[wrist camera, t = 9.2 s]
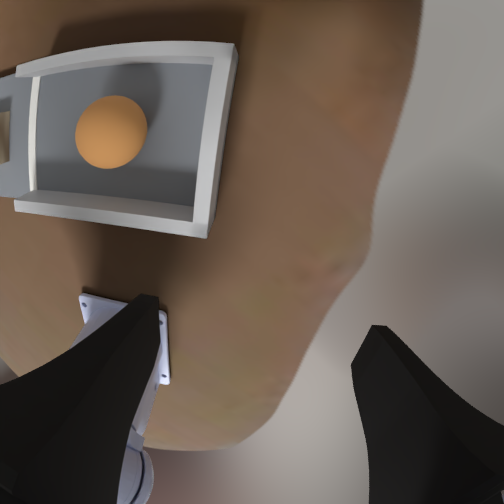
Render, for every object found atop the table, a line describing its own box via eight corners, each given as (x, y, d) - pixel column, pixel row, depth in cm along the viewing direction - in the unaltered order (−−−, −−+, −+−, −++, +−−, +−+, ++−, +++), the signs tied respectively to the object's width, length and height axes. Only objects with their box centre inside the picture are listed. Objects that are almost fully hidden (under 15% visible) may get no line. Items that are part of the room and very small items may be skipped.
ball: (153, 163, 16) (128, 178, 12) (94, 160, 15) (60, 174, 12) (160, 97, 14) (136, 92, 10) (99, 97, 13) (64, 96, 10)
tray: (215, 217, 18) (206, 238, 15) (-13, 191, 17) (-36, 204, 14) (238, 56, 13) (233, 43, 10) (-12, 84, 12) (-38, 87, 9)
